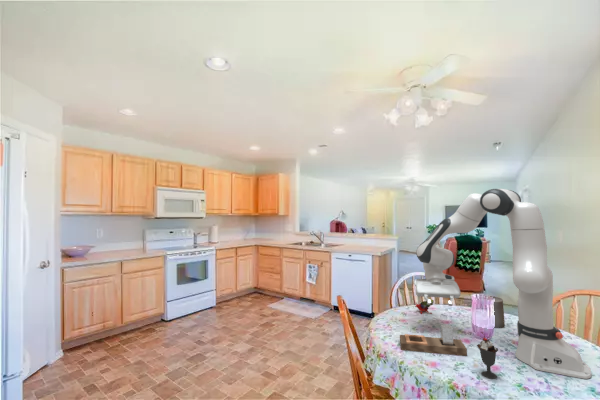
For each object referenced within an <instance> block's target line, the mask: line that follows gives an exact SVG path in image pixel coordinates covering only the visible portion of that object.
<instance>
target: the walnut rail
mask: <svg viewBox="0 0 600 400" xmlns="http://www.w3.org/2000/svg"><path fill="white" fill-rule="evenodd" d="M399 343H400V348H401V351H406V352H418V353H426V354H427V353H428V354H429V353H430V354H439V355H451V356H462V357H468V348H467V347H466V345H465V344H464V342H463V341H462V340H461V339H457V338H453V346H448V345H442V344H441V337H434V336H433V337H432V336H425V335H422V334H421V335H420V334H407V333H404V334H399Z"/></svg>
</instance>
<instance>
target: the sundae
mask: <svg viewBox="0 0 600 400" xmlns="http://www.w3.org/2000/svg"><path fill="white" fill-rule="evenodd" d="M481 334H482V335H483V336H484V337H483V338H482V340H481V341H480V342H479V343H478V344H476V346H477V349H479V353H480V358H481V361H482V362H483V364H484V365H485V366H486V370H483V371H481V372H480V374H481V376H483V377H484V378H487V379H489V380H495V379H497V378H498V376H497V374H496V373H494V372H492V370H491V369H492V368H491V367H492V366H494V365H495V364H496V355H497V352H498V351H499V348H497V347H496V346H495V345H494V344H493V343H492V341H491V340H489V339H487V338H486V335H485V333H484V332H483V331H481Z"/></svg>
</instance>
